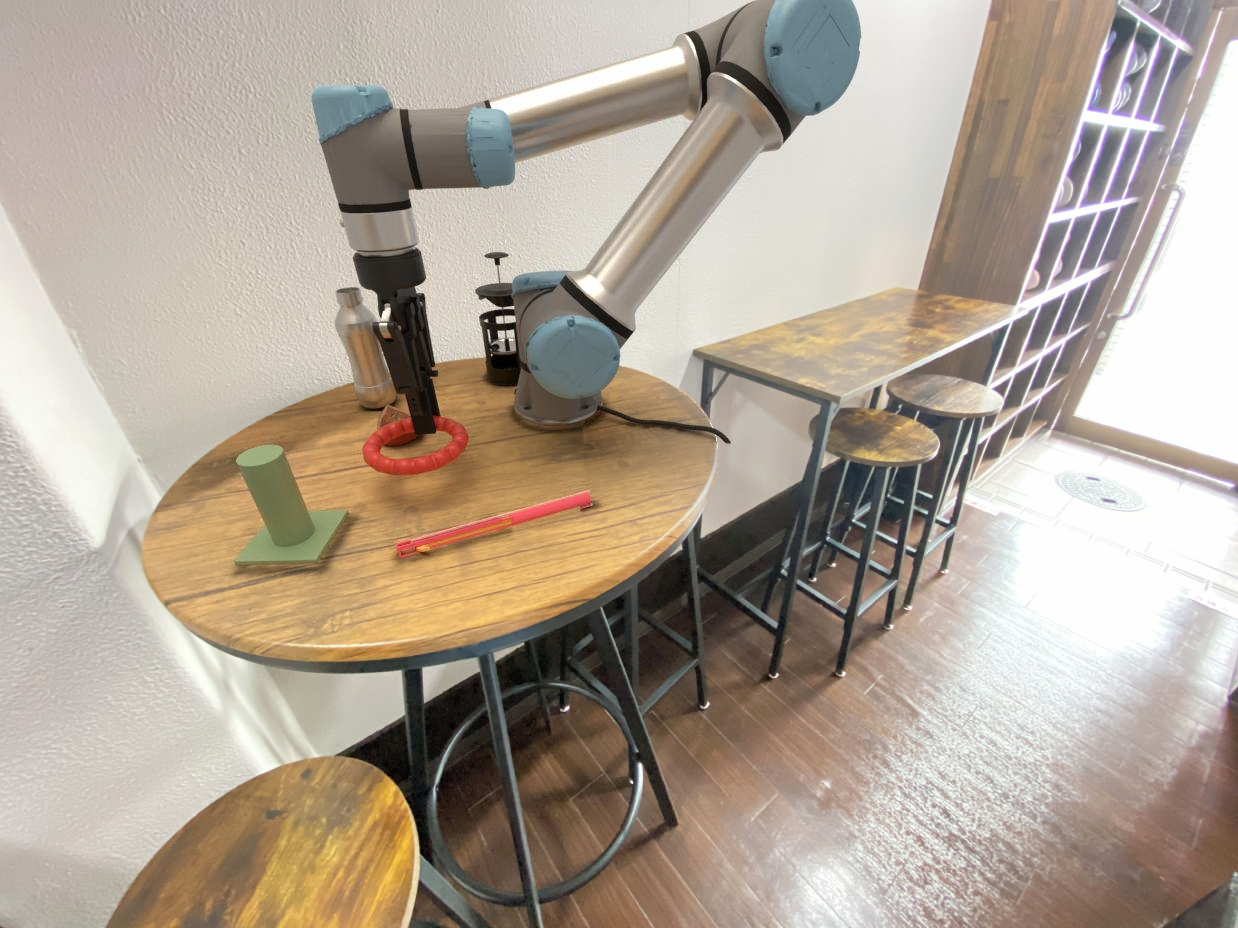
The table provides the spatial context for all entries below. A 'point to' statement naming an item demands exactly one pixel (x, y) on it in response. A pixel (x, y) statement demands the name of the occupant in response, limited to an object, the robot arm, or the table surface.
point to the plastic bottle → (363, 350)
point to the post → (283, 513)
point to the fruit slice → (391, 416)
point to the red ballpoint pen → (494, 523)
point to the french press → (505, 347)
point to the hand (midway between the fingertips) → (428, 427)
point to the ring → (421, 463)
